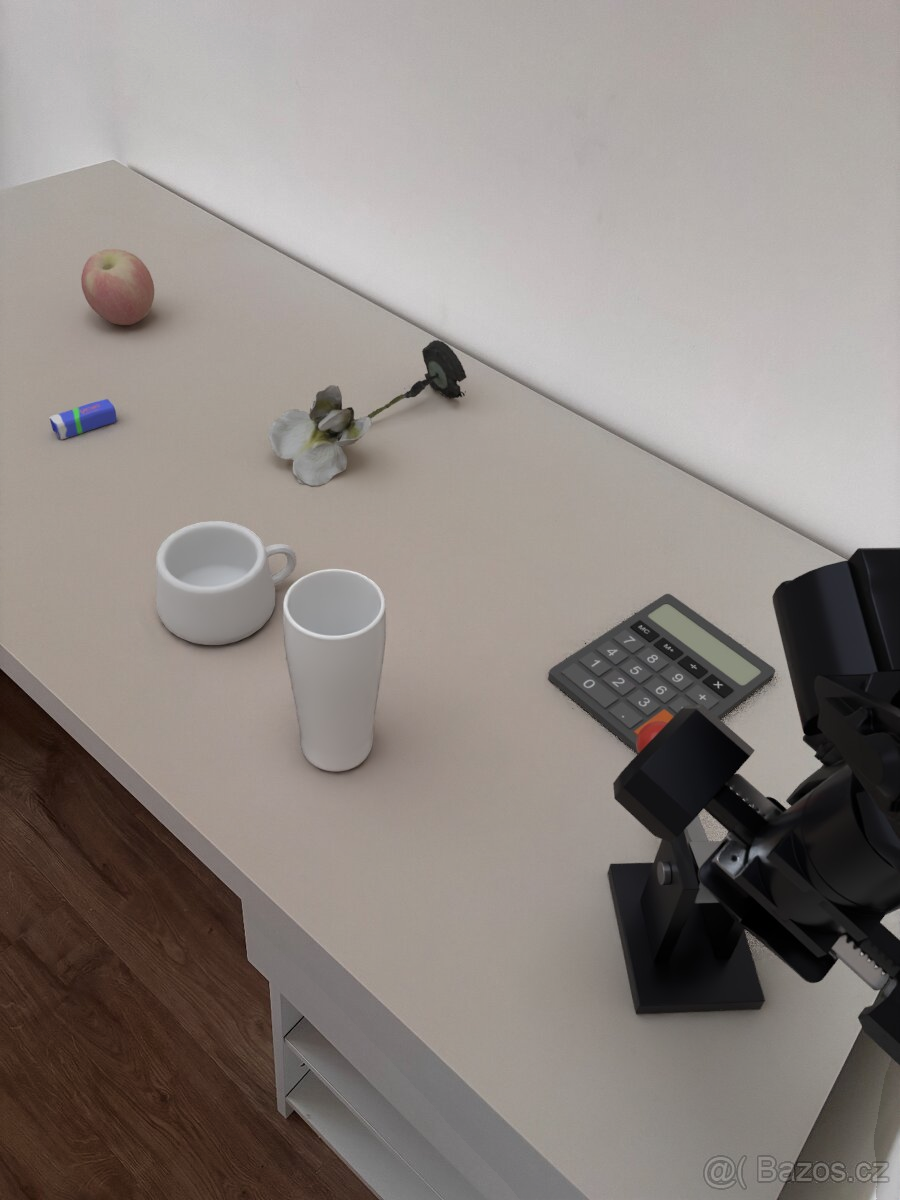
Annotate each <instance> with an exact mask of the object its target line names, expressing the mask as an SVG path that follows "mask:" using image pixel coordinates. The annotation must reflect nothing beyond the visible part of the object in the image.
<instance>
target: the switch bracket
mask: <svg viewBox="0 0 900 1200" xmlns="http://www.w3.org/2000/svg"><path fill="white" fill-rule="evenodd" d="M728 833H729V831H728V830H727V833H726V835H725V837H726V836H727V834H728ZM607 877H608V882H609V888H610V893H611V898H612V903H613V908H614V912H615V918H616V923H617V928H618V933H619V937H620V942H621V947H622V952H623V958H624V962H625V968H626V972H627V978H628V983H629V987H630V992H631V998H632V1002H633V1008H634V1013H635V1015H651V1014H674V1013H676V1014H678V1013H702V1012H703V1013H705V1012H725V1011H726V1012H727V1011H753V1010H761V1009H762V1007H763V1006H764V1004H765V1002H766V999H765V995H764V992H763V987H762V985H761V982H760V979H759V975H758V971H757V968H756V965H755V961H754V957H753V955H752V950H751V947H750V943H749V940H748V938H747V934H746V930H745V929H744V928H743V927H742V926H741V925H739V924H738V923H737V921H735V920H734V919H733V918H732V917H731V916H730V915H729V913H728V912H727V911H726V910H725V908H724V907H723V906H722V905H721V904H720V903H697V904H695V903H694V901H695V899H696V897H697V894H698V892H699V890H700V888H699V885H698V881H697V877H696V873H695V870H694V866H693V862H692V858H691V855H690V851H689V847H688V843H687V840H686V836H685V832H684V831H683V832H682V833H681V834H680V835H679V836H678V837H677V838H676V839H675V840H674V841H673V842H672V843H670V842H667V841H665V840H663V839H661V840H660V844H659V846H658V850H657V852H656V855H655V857H654V860H653V862H624V863H623V862H622V863H621V862H619V863H610V864H609V867H608V870H607Z"/></svg>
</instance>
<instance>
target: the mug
mask: <svg viewBox="0 0 900 1200" xmlns="http://www.w3.org/2000/svg"><path fill="white" fill-rule="evenodd" d="M279 554H282V555H284V556H286V563H285V565H284V567H283V568H282V569H281V570H280V571H279V572H277V573H275V574H272V571H271V566H270V562H269V557H271V556H273V555H279ZM296 566H297V555H296V551H295V550H294V548H292V547H291V546H289V545H287V544H284V543H275V544H271V545H267V546H265V544H264V542H263V540H262V539H261V538H260V537H259V536H258V534H257V533H256V532H254V531H252V530H251V529H249V528H248V527H247V526H244V525H241V524H239V523H236V522H230V521H224V520H208V521H207V520H206V521H201V522H196V523H192V524H189V525H187V526H184V527H181V528H180V529H178V530H176V531H174V532H173V533H170V534H169V535H168V537H166V538H165V540H163V541H162V543H161V545H160V546H159V549H158V551H157V553H156V559H155V581H156V582H155V599H156V601H155V602H156V608H157V612H158V615H159V619H160V621H161V623H162V624H163V625H164V627H165V628H166V629H167V631H170V632H171V633H172V634H173V635H175V636H177V637H179V639H183V640H185V641H187V642H190V643H192V644H197V645H204V646H221V645H222V646H223V645H226V644H227V645H228V644H233V643H236V642H239V641H241V640H243V639H246V638H248V637H250V636H251V635H253V634H254V633H256V632H257V631H259V630H260V629H261V628H263V626H264V625H265V624H266V623H267V622H268V620H270V618H271V617H272V615H273V612H274V609H275V607H276V589H275V588H276V587H275V585H278V584H279V583H281V582H283V581H285V580H286V579H287V578H289V577H290V576H291V574H292V573H293V572H294V570H295V569H296Z"/></svg>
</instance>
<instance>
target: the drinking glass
mask: <svg viewBox="0 0 900 1200" xmlns="http://www.w3.org/2000/svg"><path fill="white" fill-rule="evenodd" d="M282 605H283V606H282V609H283V611H282V612H283V614H282V625H283V626H282V627H283V630H282V631H283V643H284V644H283V645H284V652H285V653H284V654H285V658H286V665H287V669H288V675H289V680H290V686H291V691H292V696H293V702H294V707H295V713H296V717H297V723H298V729H299V741H300V748H301V751H302V754H303V755H304V757H305V758H306V760H307V761H308V762H309V763H310V764H312V765H313V766H314V767H315V768H318V769H321V770H323V771H327V772H345V771H348V770H351V769H354V768H356V767H358V766H359V765H360V764H362V763H363V762H364V761H365V760H366V759H367V757H369V755H370V752H371V750H372V747H373V744H374V726H375V717H376V711H377V705H378V697H379V691H380V685H381V678H382V672H383V666H384V659H385V653H386V639H387V613H386V609H387V608H386V598H385V595H384V593H383V591H382V589H381V588H380V586H379V585H378V584H377V583H376V582H375V581H374V580H372V579H371V578H370V577H369V576H366V575H364V574H363V573H360V572H357V571H355V570H351V569H350V570H349V569H344V568H325V569H320V570H316V571H313V572H310V573H308V574H305V575H303V576H302V577H300V578H298V579H297V580H296V581H294V582H293V583H292V585H290V586H289V588H288V589H287V591H286V593H285V595H284V598H283V604H282Z"/></svg>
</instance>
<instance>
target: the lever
mask: <svg viewBox="0 0 900 1200" xmlns="http://www.w3.org/2000/svg"><path fill="white" fill-rule="evenodd" d="M666 724H667V723H666V722H661V721H657V722H652V723H649V724H647V725H646V726H644V727H643V728H642V729H641V731H640V732H639V734H638V736H637V740H636V748H637V752H638V753H637V755H638V754H639V753H640V751H641V750H642V749H643V748H644V747H645V746H646V745H647V744H648V743H649V742H650V741H651V740H652V739H653V738H654V737H655V736H656V735H657V734H658V733H659V732H660V731H661V730H662V728H663V727H664V726H665V725H666ZM684 832H685V836H686V840H687V843H688V847H689V851H690V855H691V858H692V862H693V866H694V870H695V873H696V877H697V881H698V885H699V888H700V890H699V892H698V894H697V897H696V899H695V901H694V903H695V904H697V903H719V902H718V900H717V899H716V898H715V897H714V896H713V895H712V894H711V893H710V892H709V891H708V890H707V889H706V888H705V887H704V886H703V885H702V884H701V883H700V881H699V879H698V871H699V868H700V867H701V866H702V865H703V863H704V862H705V861H706V860H707V859H708V858H709V856H710V855H711V854H712V853H713V852H714V851H715V850H716V848H717V847H718V846H719V845H720V844H721V843H722V840H719V841H718V840H714V841H713V840H711V841H709V838H708V836H707V834H706V830H705V829H704V826H703V823H702V821H701V818H700V816H699V815H698V816H697V817H696V818H695V819H694V820H693V821H692V822H691V823H690V824H689V825H688V826H687V827H686V828H685V830H684Z"/></svg>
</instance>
